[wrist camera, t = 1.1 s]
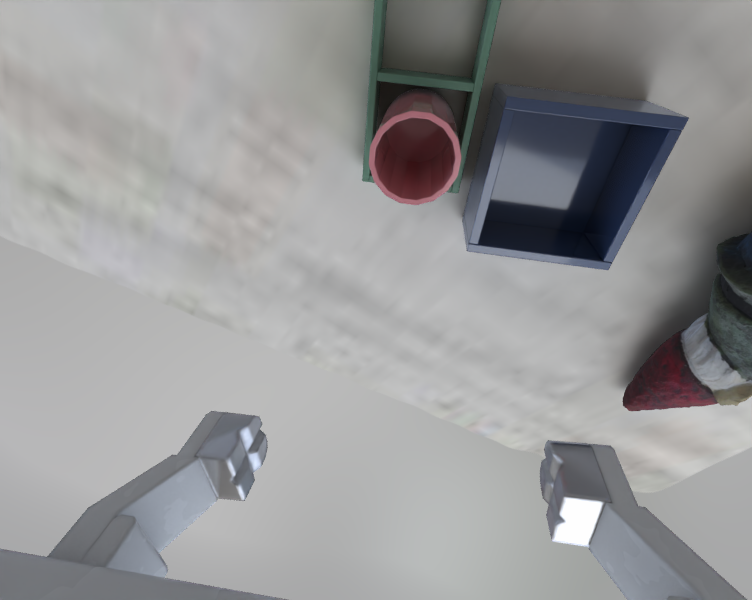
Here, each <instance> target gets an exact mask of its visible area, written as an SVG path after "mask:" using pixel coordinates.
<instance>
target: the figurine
mask: <svg viewBox="0 0 752 600" xmlns="http://www.w3.org/2000/svg"><path fill="white" fill-rule="evenodd" d="M717 264H718V267H719V271H720V274H718V275H717V276H716V278H715V280H714V282H713V286H712V293H711V299H710V302H709V312H708V313H707V314H705V315H703V316H701V317H700V318H698V319H697V320H696V321H695V322H693V323H692V325H691V326H690V327H689V328H688V329H684V330H681V331H679V332H677V333H676V334H674V335H673V336H672V337H671V338H669V339H668V340H667V341H666V342H664V343H663V344H662V345H661V346H660V347H659V348H658V349H657V350H656V351H655V352H654V353H653V354H652V355H651V357H650V358H649V359H648V360H647V361H646V362H645V363H644V365H643V366H642V367H641V368H640V369H639V371H638V372H637V374H636V375H635V377H634V378H633V380H632V382H631V383H630V384H629V385H628V386H627V388H626V390H625V393H624V397H623V406H624V407H626V408H627V409H628V410H629V411H640V410H654V409H660V410H661V409H668V408H677V407H678V408H679V407H680V408H682V407H691V406H706V405H713V404H717V403H719V404H720V405H736V406H737V405H738V404H739V403H740V402H743V401H746V400H747V399H748V398H749V397H751V396H752V232H751V233H750V234H745V235H741V236H737V237H732V238H729V239H727V240H725V241H724V242H722V243H721V244H719V245H718V246H717Z"/></svg>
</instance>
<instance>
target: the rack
mask: <svg viewBox="0 0 752 600" xmlns="http://www.w3.org/2000/svg"><path fill="white" fill-rule="evenodd" d="M500 4H501V0H487V5H486V10H485V15H484V20H483V24H482V29H481V34H480V39H479V44H478V49H477V53H476V58H475V63H474V68H473V73H472V78H467V77H458V76H450V75H441V74H432V73H424V72H415V71H407V70H398V69H390V68H382V57H383V45H384V33H385V21H386V9H387V0H375V3H374V17H373V32H372V47H371V61H370V76H369V91H368V105H367V120H366V135H365V149H364V164H363V179H362V181H365V182H373V183H375V182H374V180H373V176H372V173H371V170H370V167H369V154H370V145H371V143H372V141H373V139H374V137H375V135H376V129H377V117H378V105H379V93H380V81H383V82H391V83H400V84H408V85H417V86H425V87H434V88H442V89H451V90H459V91H468V97H467V102H466V107H465V112H464V116H463V121H462V126H461V131H460V136H459V145H460V151H461V156H462V157H461V158H462V159H461V163H460V168H459V173H458V176H457V178H456V179H455V181H454V182H453V184H452V185H451V187H450V188H449V190H448V191H447V192H452V193H458V192H459V187H460V183H461V178H462V174H463V169H464V165H465V160H466V156H467V151H468V147H469V143H470V138H471V134H472V129H473V125H474V120H475V116H476V111H477V107H478V102H479V98H480V93H481V89H482V84H483V80H484V75H485V71H486V66H487V62H488V57H489V53H490V48H491V44H492V39H493V35H494V31H495V26H496V22H497V17H498V13H499V8H500Z"/></svg>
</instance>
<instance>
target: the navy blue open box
mask: <svg viewBox="0 0 752 600" xmlns="http://www.w3.org/2000/svg"><path fill="white" fill-rule="evenodd" d="M688 119H689V117H686V116H684V115H681V114H679V113H676V112H674V111H671V110H669V109H666V108H664V107H662V106H659V105H657V104H654V103H651V102H649V101H645V100H636V99H628V98H619V97H611V96H602V95H594V94H585V93H576V92H568V91H559V90H551V89H542V88H534V87H525V86H516V85H508V84H499V83H495V86H494V90H493V94H492V99H491V103H490V107H489V111H488V115H487V119H486V123H485V128H484V132H483V136H482V140H481V144H480V148H479V153H478V157H477V161H476V165H475V169H474V173H473V178H472V182H471V186H470V190H469V194H468V198H467V203H466V207H465V211H464V215H463V219H462V222H463V228H464V235H465V242H466V249H467V251H469V252H476V253H484V254H491V255H499V256H506V257H514V258H521V259H528V260H536V261H543V262H551V263H558V264H566V265H573V266H580V267H588V268H595V269H603V270H609V268H610V266H611V264H612V262H613V260H614V258H615V256H616V255H617V253H618V251H619V249H620V247H621V245H622V243H623V241H624V239H625V238H626V236H627V234H628V232H629V230H630V228H631V226H632V224H633V222H634V221H635V219H636V217H637V215H638V213H639V211H640V209H641V207H642V205H643V204H644V202H645V200H646V198H647V196H648V194H649V192H650V190H651V188H652V187H653V185H654V183H655V181H656V179H657V177H658V175H659V173H660V171H661V170H662V168H663V166H664V164H665V162H666V160H667V158H668V156H669V154H670V153H671V151H672V149H673V147H674V145H675V143H676V141H677V139H678V137H679V136H680V134H681V132H682V130H683V129H684V127H685V125H686V123H687V121H688Z"/></svg>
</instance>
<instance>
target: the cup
mask: <svg viewBox="0 0 752 600" xmlns="http://www.w3.org/2000/svg"><path fill="white" fill-rule="evenodd" d="M461 157H462V156H461V151H460V145H459V140H458V135H457V130H456V125H455V120H454V116H453V112H452V110H451V108H450V106H449V104H448V103H447V102H446V100H445V99H444V98H443V97H442V96H440V95H439V94H438V93H436V92H434V91H431V90H428V89H420V88H419V89H412V90H409V91H406V92H404V93H402V94H401V95H399V96H398V97H397V98H396V99H395V100H394V101H393V102H392V103H391V104H390V105H389V107H388V109H387V111H386V113H385V115H384V117H383V120H382V122H381V124H380V126H379V128H378V130H377V132H376V135H375V137H374V139H373V141H372V143H371V145H370V154H369V167H370V170H371V173H372V176H373V180H374V182H375V183H376V184H377V186H378V187H379V188H380V189H381V190H382V192H383V193H384V194H385V195H386V196H388V197H390V198H392V199H394V200H395V201H397V202H399V203H405V204H412V205H419V204H423V203H427V202H431V201H434V200H435V199H437V198H438V197H440V196H441V195H442V194H444V193H445V192H447V191H448V190H449V188H450V187H451V185H452V184H453V182H454V181H455V179H456V178H457V176H458V173H459V168H460V163H461V159H462V158H461Z"/></svg>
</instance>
